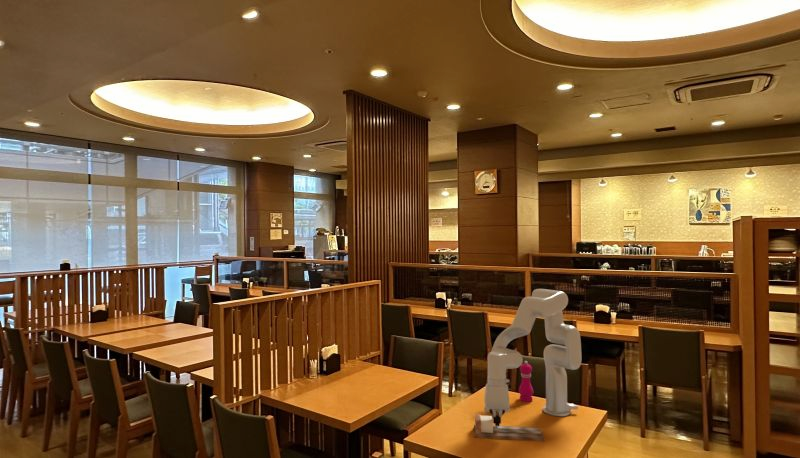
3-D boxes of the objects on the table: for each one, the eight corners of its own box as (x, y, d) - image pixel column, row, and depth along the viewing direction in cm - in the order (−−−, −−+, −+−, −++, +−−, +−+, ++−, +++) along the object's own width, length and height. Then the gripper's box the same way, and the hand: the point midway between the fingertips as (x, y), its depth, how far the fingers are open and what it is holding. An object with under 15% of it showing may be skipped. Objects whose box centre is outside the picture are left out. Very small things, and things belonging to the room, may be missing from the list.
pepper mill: (534, 403, 227) (533, 363, 228) (519, 402, 229) (519, 362, 229) (532, 398, 234) (532, 359, 235) (518, 397, 236) (518, 358, 236)
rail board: (539, 430, 195) (539, 416, 195) (544, 441, 185) (544, 425, 185) (474, 427, 198) (473, 413, 198) (475, 437, 188) (475, 422, 188)
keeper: (491, 426, 196) (491, 416, 196) (493, 433, 189) (493, 422, 189) (479, 425, 196) (479, 415, 196) (480, 432, 189) (480, 422, 189)
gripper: (513, 379, 195) (513, 422, 195) (478, 378, 197) (478, 420, 197) (516, 385, 188) (516, 429, 187) (479, 384, 189) (479, 428, 189)
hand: (497, 425), depth 192 cm, fingers closed
